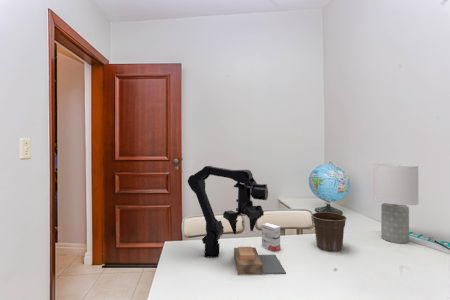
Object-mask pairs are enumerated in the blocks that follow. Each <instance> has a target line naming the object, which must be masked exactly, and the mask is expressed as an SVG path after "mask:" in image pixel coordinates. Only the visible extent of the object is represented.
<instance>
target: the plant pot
mask: <svg viewBox="0 0 450 300" xmlns="http://www.w3.org/2000/svg"><path fill="white" fill-rule="evenodd" d="M311 217H312V220H313V224H314V231H315V233H314V234H315V240H316V246H317V248H318V249H320V250H322V251H324V250H326V252H330V253H337V252H341V251H342V250H343V246H344V245H343V243H344V232H345V227H346V221H347V217H346V215H343V214H341V213H335V212H330V211H323V212H322V211H320V212H319V211H317V212H314V213H312V214H311Z"/></svg>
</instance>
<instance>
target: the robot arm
mask: <svg viewBox="0 0 450 300" xmlns="http://www.w3.org/2000/svg"><path fill="white" fill-rule="evenodd" d="M210 176H216V177H221V178H227V179H231V180H233V181H235V182H236V183H235V184H234V185H233V188H237V199H236V200H235V202H236V203H237V208H235V211H234V210H224V211H223V214H222V218H224V219H225V220H227V221H228V223H229V224H230V227H231V230H232V233H233V234H234V235H236V234H237V223H238V221H239V220H238V217H243V216H244V217H245V216H247V218H248V220H249V228H250V230H249V231H250V232H254V228H255V225H256V224H257V221H258V220H259V219H260V218H262V217H264V213H265V212H264V210H263V207H262V205H260V204H259V205H254V204H253V203H254V201H253V200H260V201H267V200H268V197H269V189H268V184H267V183H266V184H265V183H263V184H261V183H257V181H256V180H255V178H254V177H253V173H252V171H251V170H249V169H230V168H229V169H228V168H224V167H223V168H222V167H217V166H213V165H205V166H204V167H203V168H202V169H200V170H198V171H197V172H195V173H194V174H192V175H190V176H189V177H188V179H187V184H188V187H190V189H191V191H192V192H194V194H195V195H196V198H197V200H198V204H199V206H200V209H201V212H202V216H203V217H204V221H205V231H206V235H205V236H203V238H202V239H201V241H202V244H204V258H217V257H218V258H219V255H220V243H219V240H220V238H221V237H222V236H223V235H224V233H225V232H224V229H225V227H224V225H223V223H222V220H221V219H219V220H218V219H217V218H216V216H215V214H214V211H213V208H212V205H211V203H210V200H209V198H208V195H207V191H206V180H207V179H208V178H209V177H210ZM251 198H252V199H253V200H252V199H251Z"/></svg>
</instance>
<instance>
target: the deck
mask: <svg viewBox="0 0 450 300" xmlns="http://www.w3.org/2000/svg"><path fill="white" fill-rule="evenodd" d="M251 247H252V246H251ZM252 250H253V252H254V255H255V260H240V257H239V253H238V247H233V258H234V264H235V269H236V273H237V276H247V275H248V276H251V275H255V276H256V275H264V274H263V264H262V262H261V259H260V257H259V255H260V254H259V252H258V250H257V248H256V247H255V246H254V247H252Z"/></svg>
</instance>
